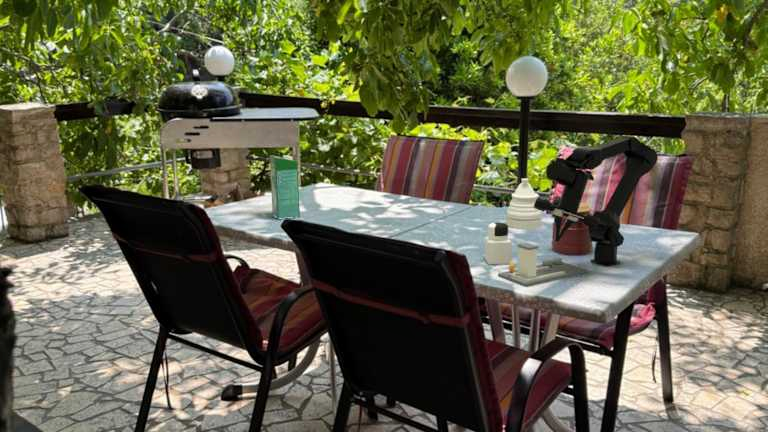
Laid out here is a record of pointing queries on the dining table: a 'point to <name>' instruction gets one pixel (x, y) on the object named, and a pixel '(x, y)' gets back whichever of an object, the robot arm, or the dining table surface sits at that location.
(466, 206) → the dining table surface
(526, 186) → the honey pot
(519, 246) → the fader tab
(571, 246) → the canister
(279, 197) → the milk carton
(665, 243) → the dining table surface
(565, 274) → the console
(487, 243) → the medicine bottle
